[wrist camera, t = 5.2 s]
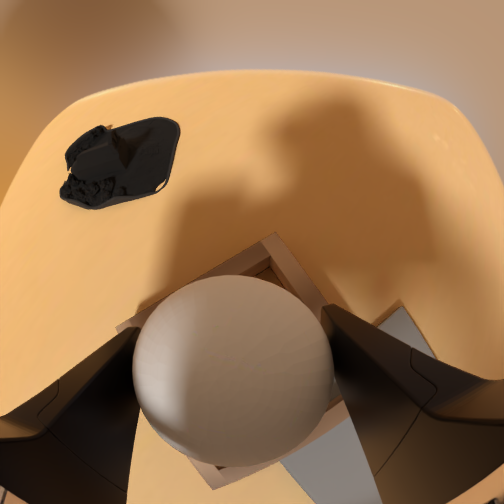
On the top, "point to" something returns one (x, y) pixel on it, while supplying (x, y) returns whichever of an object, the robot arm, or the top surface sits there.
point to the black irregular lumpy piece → (120, 163)
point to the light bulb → (233, 371)
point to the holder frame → (297, 284)
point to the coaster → (346, 443)
